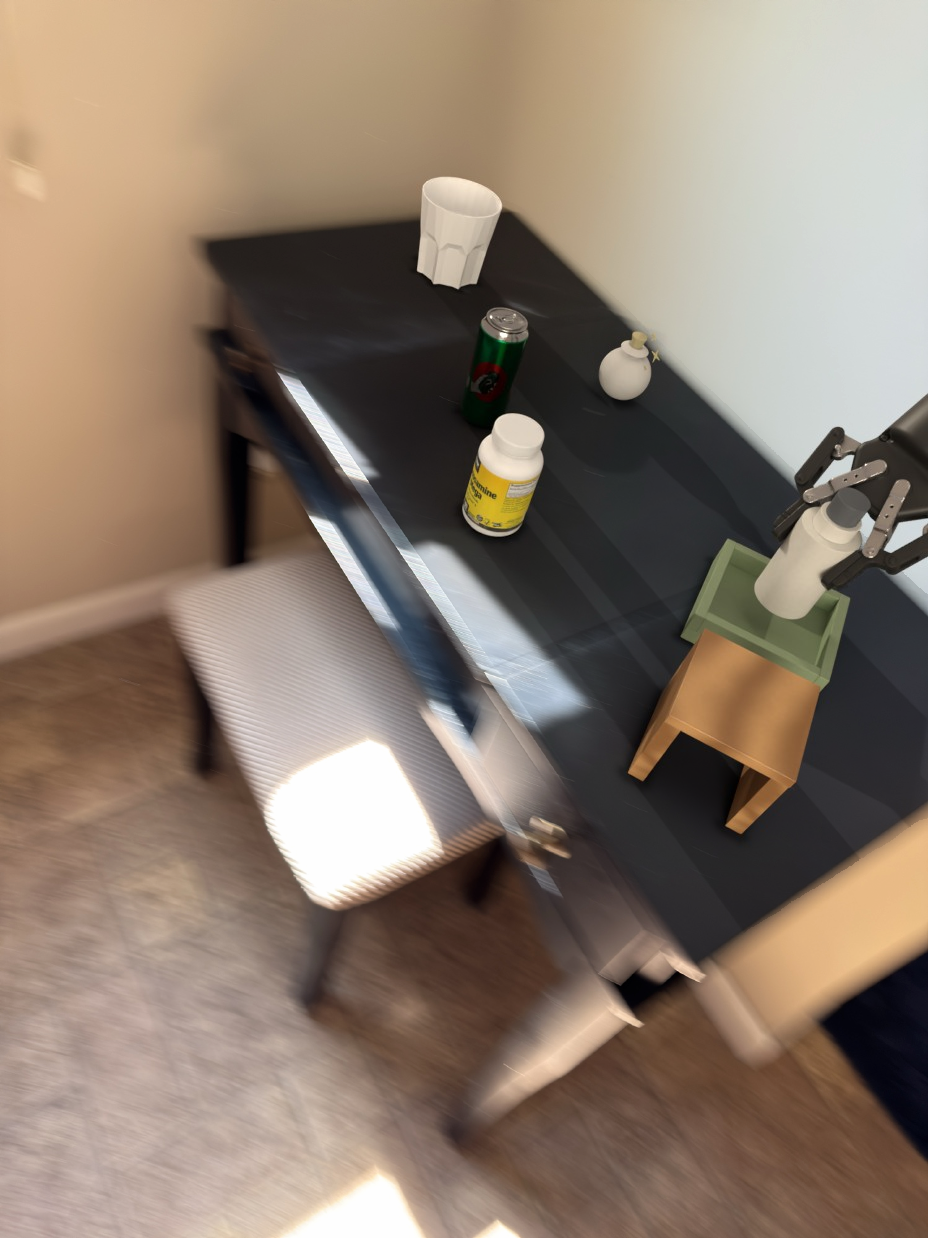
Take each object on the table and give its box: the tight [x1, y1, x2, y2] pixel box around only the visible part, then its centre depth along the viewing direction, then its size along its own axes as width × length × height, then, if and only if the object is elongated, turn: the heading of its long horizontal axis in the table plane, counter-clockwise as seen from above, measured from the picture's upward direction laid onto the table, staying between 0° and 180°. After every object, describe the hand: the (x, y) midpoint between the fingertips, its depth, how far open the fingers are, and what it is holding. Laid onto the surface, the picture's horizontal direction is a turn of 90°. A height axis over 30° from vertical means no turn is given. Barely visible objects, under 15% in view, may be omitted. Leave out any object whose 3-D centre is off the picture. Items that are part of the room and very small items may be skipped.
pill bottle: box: [462, 412, 545, 537], centre depth 82 cm, size 6×6×11 cm
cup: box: [416, 176, 503, 290], centre depth 111 cm, size 10×10×10 cm
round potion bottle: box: [598, 331, 661, 401], centre depth 100 cm, size 6×7×10 cm
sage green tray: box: [680, 538, 851, 692], centre depth 83 cm, size 13×12×4 cm
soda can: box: [459, 307, 530, 428], centre depth 92 cm, size 5×5×12 cm
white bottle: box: [754, 487, 871, 619], centre depth 76 cm, size 5×5×12 cm
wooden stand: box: [627, 628, 821, 835], centre depth 69 cm, size 10×10×9 cm
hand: (800, 561), depth 75 cm, fingers closed on white bottle, 5 cm apart
